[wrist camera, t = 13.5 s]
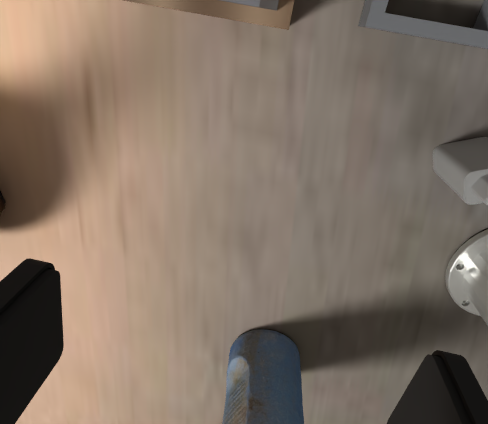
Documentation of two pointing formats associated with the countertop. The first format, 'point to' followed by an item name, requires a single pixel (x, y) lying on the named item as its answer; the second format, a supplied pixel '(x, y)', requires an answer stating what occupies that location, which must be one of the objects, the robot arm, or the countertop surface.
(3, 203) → the ceramic jug
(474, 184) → the power adapter
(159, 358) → the countertop surface
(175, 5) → the raised dock
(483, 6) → the low collar
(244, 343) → the bottle
